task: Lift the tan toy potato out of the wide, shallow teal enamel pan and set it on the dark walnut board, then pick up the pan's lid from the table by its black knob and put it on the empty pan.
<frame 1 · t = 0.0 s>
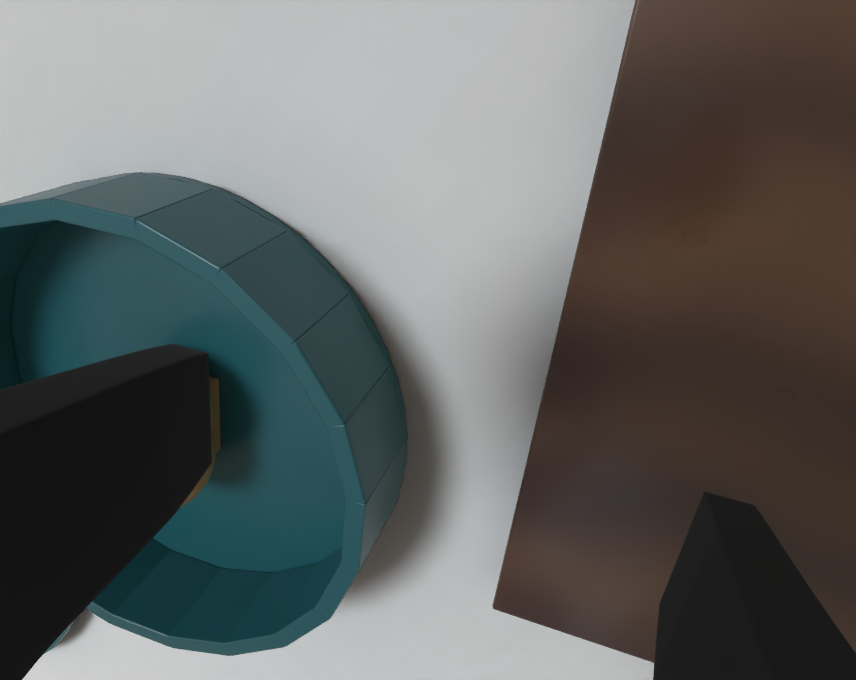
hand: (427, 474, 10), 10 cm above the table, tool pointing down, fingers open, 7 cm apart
potato: (188, 404, 24), resting on pan
board: (824, 394, 17), on the table
pan: (195, 399, 24), on the table
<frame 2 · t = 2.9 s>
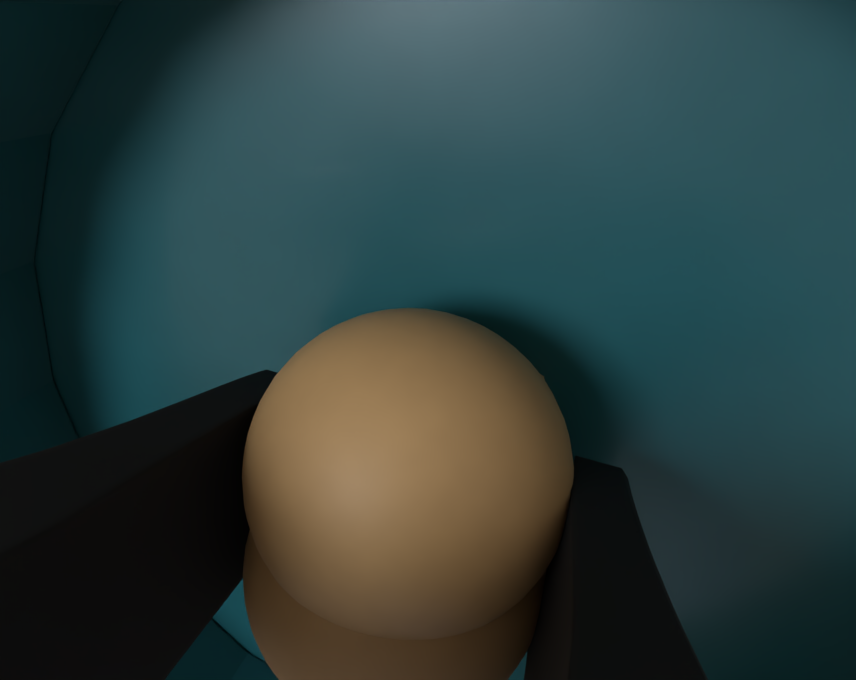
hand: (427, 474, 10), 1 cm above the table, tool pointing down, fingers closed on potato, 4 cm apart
potato: (444, 435, 10), resting on pan, touching gripper
pan: (453, 422, 11), on the table
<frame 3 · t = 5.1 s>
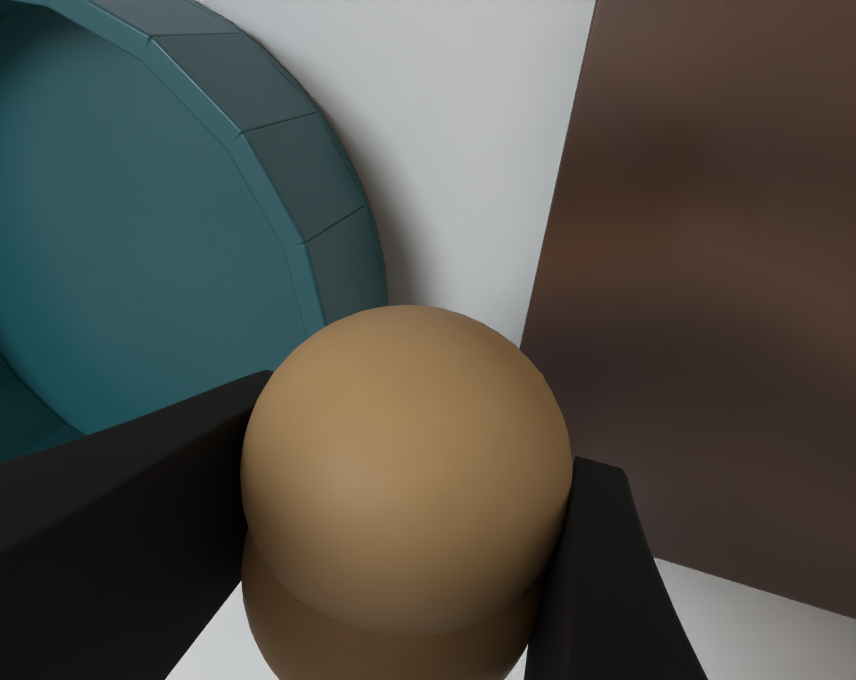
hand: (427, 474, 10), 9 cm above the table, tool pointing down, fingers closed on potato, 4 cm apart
potato: (443, 433, 10), point 8 cm above the table, touching gripper
pan: (144, 269, 21), on the table
when the fingers open (2 cm above the table, at t = 7.6 s): potato stays where it is, resting on board.
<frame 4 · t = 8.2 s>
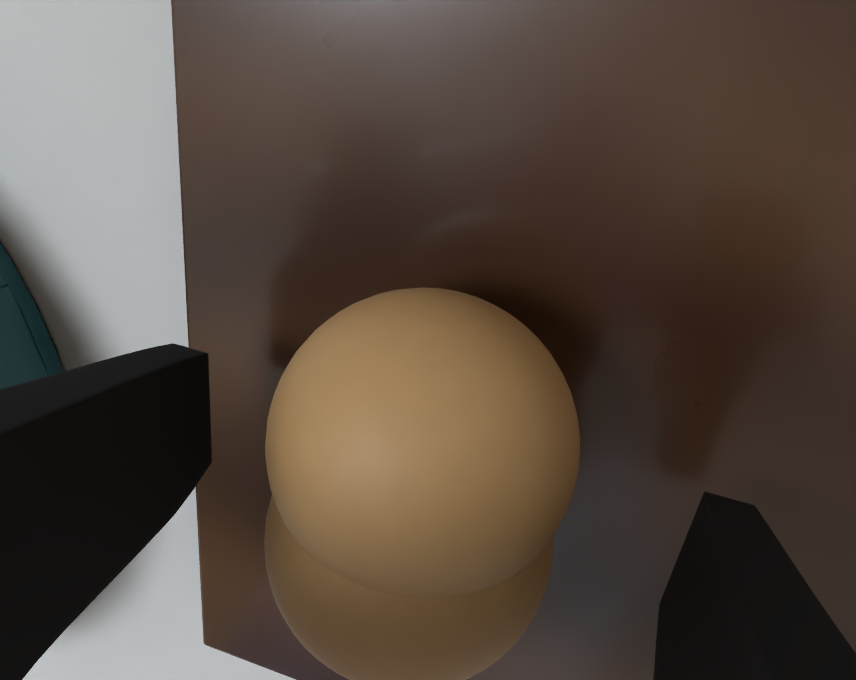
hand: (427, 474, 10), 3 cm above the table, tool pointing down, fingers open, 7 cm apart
potato: (454, 414, 11), point 1 cm above the table, touching board
board: (615, 307, 11), on the table
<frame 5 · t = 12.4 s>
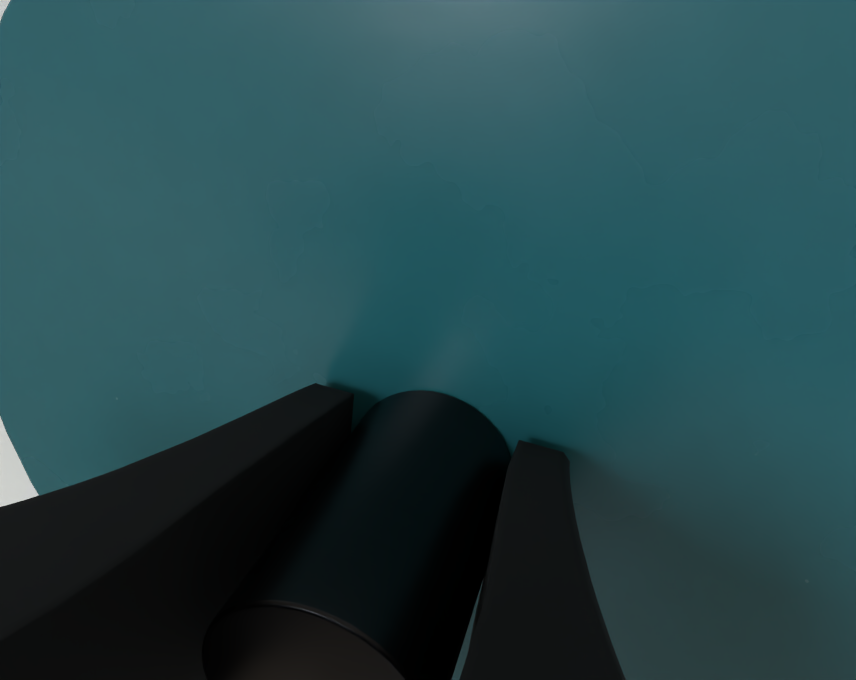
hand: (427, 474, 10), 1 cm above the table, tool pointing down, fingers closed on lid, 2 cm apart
lid: (442, 442, 10), point 1 cm above the table, touching gripper
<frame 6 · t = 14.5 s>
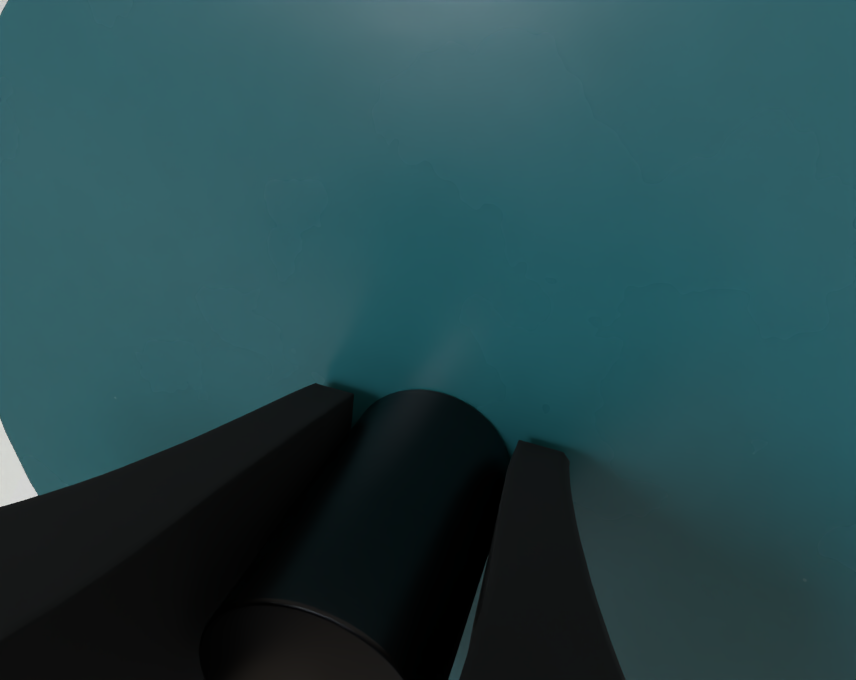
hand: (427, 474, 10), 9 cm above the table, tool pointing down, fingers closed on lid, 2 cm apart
lid: (440, 441, 10), point 8 cm above the table, touching gripper
when the fingers open (5 cm above the table, at t = 16.6 s): lid stays where it is, resting on pan.
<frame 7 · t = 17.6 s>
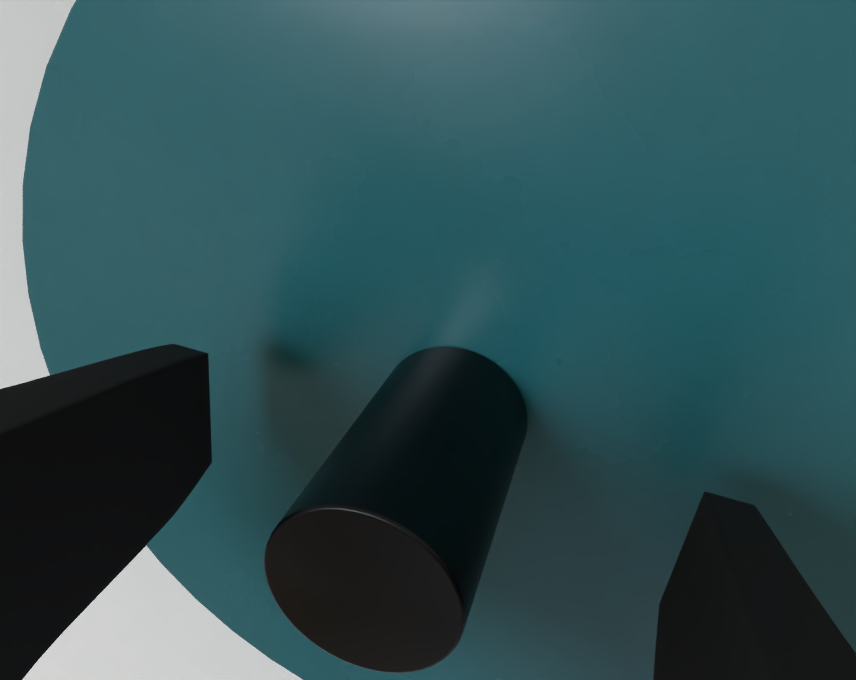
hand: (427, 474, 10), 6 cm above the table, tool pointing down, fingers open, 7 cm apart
lid: (461, 397, 11), point 4 cm above the table, touching pan
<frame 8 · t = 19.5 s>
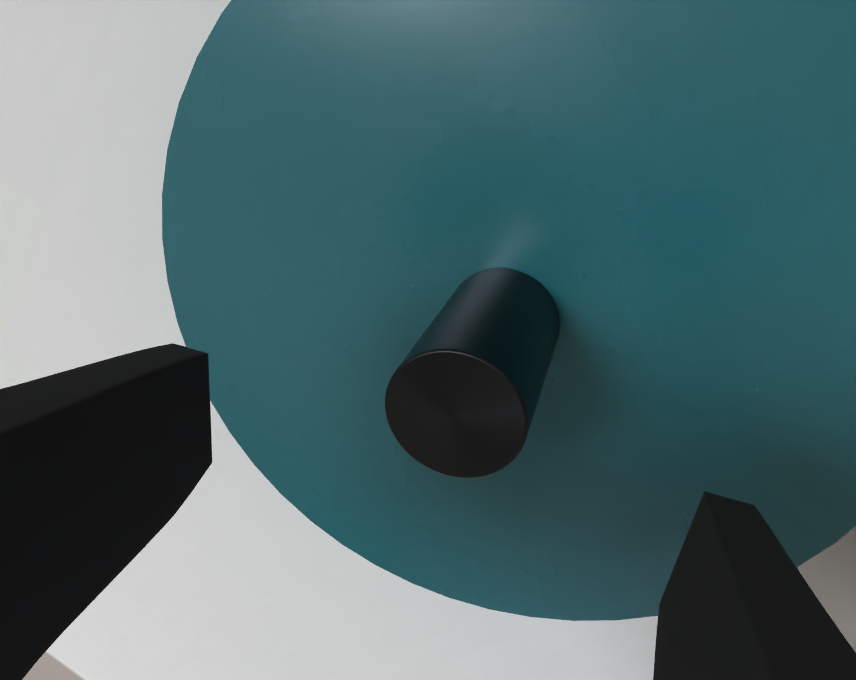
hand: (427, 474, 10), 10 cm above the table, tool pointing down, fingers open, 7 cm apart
lid: (507, 312, 15), point 4 cm above the table, touching pan
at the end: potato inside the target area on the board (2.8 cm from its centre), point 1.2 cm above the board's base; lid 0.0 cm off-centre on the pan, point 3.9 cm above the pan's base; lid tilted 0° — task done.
